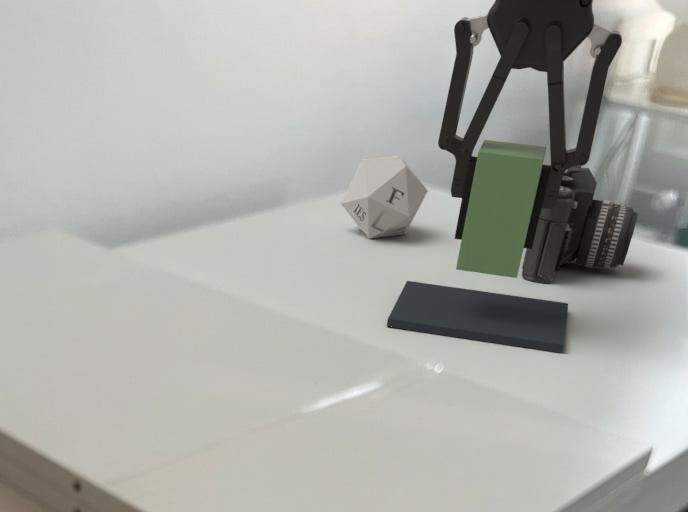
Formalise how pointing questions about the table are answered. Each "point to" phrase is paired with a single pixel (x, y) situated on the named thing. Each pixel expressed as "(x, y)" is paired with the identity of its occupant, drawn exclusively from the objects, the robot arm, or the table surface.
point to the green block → (500, 207)
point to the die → (384, 196)
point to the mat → (481, 316)
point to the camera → (579, 230)
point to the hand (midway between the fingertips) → (494, 239)
